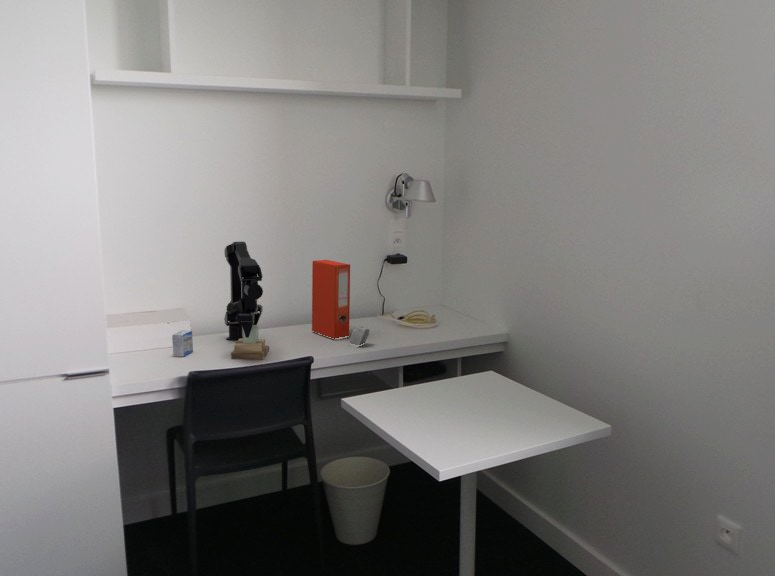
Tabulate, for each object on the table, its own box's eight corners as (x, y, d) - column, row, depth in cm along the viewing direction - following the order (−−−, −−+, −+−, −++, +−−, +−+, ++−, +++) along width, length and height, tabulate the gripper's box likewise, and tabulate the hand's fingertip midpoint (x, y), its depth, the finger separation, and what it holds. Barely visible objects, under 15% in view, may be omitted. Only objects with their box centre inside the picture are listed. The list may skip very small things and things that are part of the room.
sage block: (245, 340, 268) (245, 325, 267) (258, 340, 268) (258, 325, 267) (242, 343, 263) (242, 327, 262) (255, 343, 263) (255, 328, 262)
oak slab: (239, 345, 271) (239, 338, 270) (265, 346, 271) (265, 338, 270) (234, 352, 261) (234, 345, 260) (260, 353, 261) (260, 345, 260)
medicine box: (183, 357, 262) (182, 335, 261) (172, 356, 263) (171, 334, 261) (193, 351, 270) (192, 330, 268) (182, 351, 271) (182, 329, 269)
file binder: (327, 330, 309) (327, 259, 304) (349, 337, 296) (350, 264, 290) (311, 332, 304) (311, 260, 299) (334, 340, 291) (334, 265, 285)
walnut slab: (239, 352, 273) (238, 344, 272) (269, 353, 272) (269, 345, 272) (231, 360, 261) (231, 353, 260) (262, 361, 260) (262, 353, 260)
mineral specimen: (365, 347, 278) (361, 328, 277) (348, 348, 283) (344, 329, 282) (375, 343, 284) (371, 324, 283) (358, 344, 289) (354, 325, 288)
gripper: (234, 289, 272) (235, 328, 274) (221, 298, 253) (222, 340, 256) (262, 290, 271) (263, 329, 274) (251, 299, 253) (252, 340, 256)
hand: (250, 334), depth 265 cm, fingers open, 9 cm apart
